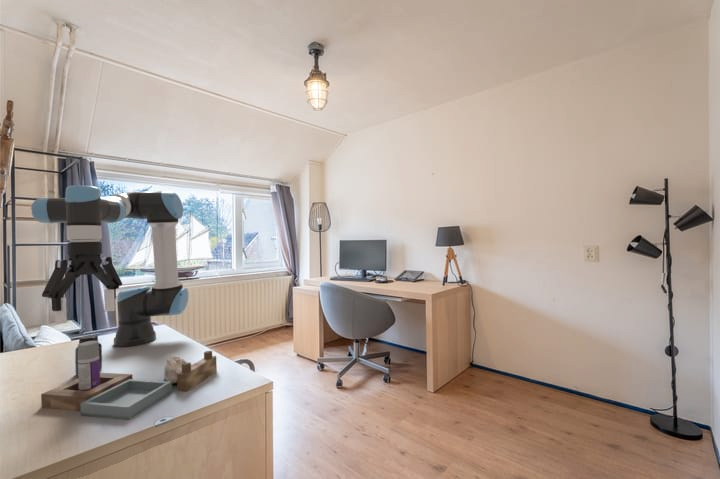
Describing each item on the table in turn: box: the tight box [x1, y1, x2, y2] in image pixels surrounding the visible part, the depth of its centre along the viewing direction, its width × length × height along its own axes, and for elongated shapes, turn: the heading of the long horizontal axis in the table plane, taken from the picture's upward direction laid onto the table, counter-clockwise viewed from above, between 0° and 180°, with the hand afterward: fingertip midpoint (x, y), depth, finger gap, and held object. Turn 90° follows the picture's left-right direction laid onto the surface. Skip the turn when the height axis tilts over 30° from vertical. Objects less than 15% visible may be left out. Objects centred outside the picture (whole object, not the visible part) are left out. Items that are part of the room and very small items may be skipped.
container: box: [77, 340, 101, 391], centre depth 92 cm, size 5×5×15 cm
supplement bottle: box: [74, 334, 103, 377], centre depth 108 cm, size 7×7×12 cm
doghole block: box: [40, 372, 133, 411], centre depth 92 cm, size 14×14×4 cm
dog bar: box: [176, 350, 218, 392], centre depth 100 cm, size 14×3×7 cm, turn 170°
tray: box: [80, 379, 173, 420], centre depth 87 cm, size 14×14×3 cm
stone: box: [163, 355, 187, 385], centre depth 101 cm, size 8×12×10 cm, turn 34°
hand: (87, 316), depth 91 cm, fingers open, 13 cm apart
